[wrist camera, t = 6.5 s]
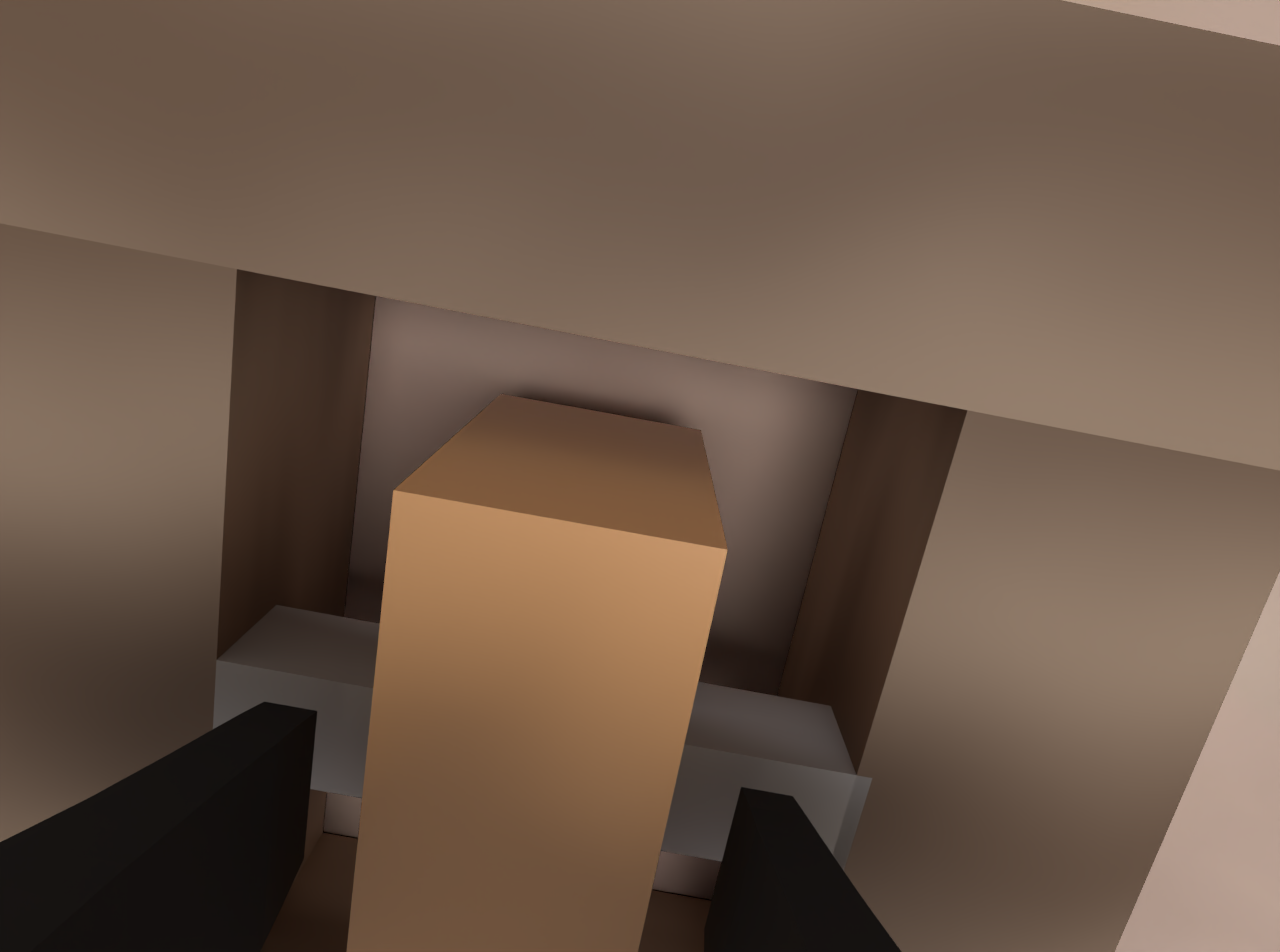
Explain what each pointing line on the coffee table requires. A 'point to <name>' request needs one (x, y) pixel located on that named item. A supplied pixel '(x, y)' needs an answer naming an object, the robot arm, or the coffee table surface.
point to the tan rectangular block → (534, 682)
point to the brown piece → (681, 324)
